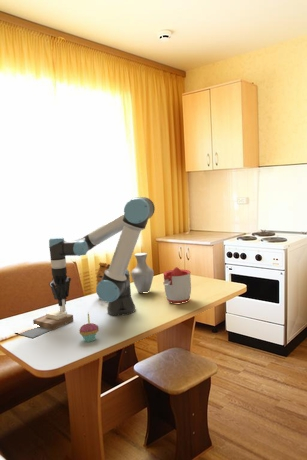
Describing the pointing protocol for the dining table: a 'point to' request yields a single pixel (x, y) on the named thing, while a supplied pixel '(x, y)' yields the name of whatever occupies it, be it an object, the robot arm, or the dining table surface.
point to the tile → (56, 314)
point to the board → (52, 321)
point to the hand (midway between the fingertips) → (62, 311)
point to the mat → (35, 332)
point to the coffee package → (102, 271)
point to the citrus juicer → (177, 285)
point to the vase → (142, 274)
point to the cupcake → (89, 331)
